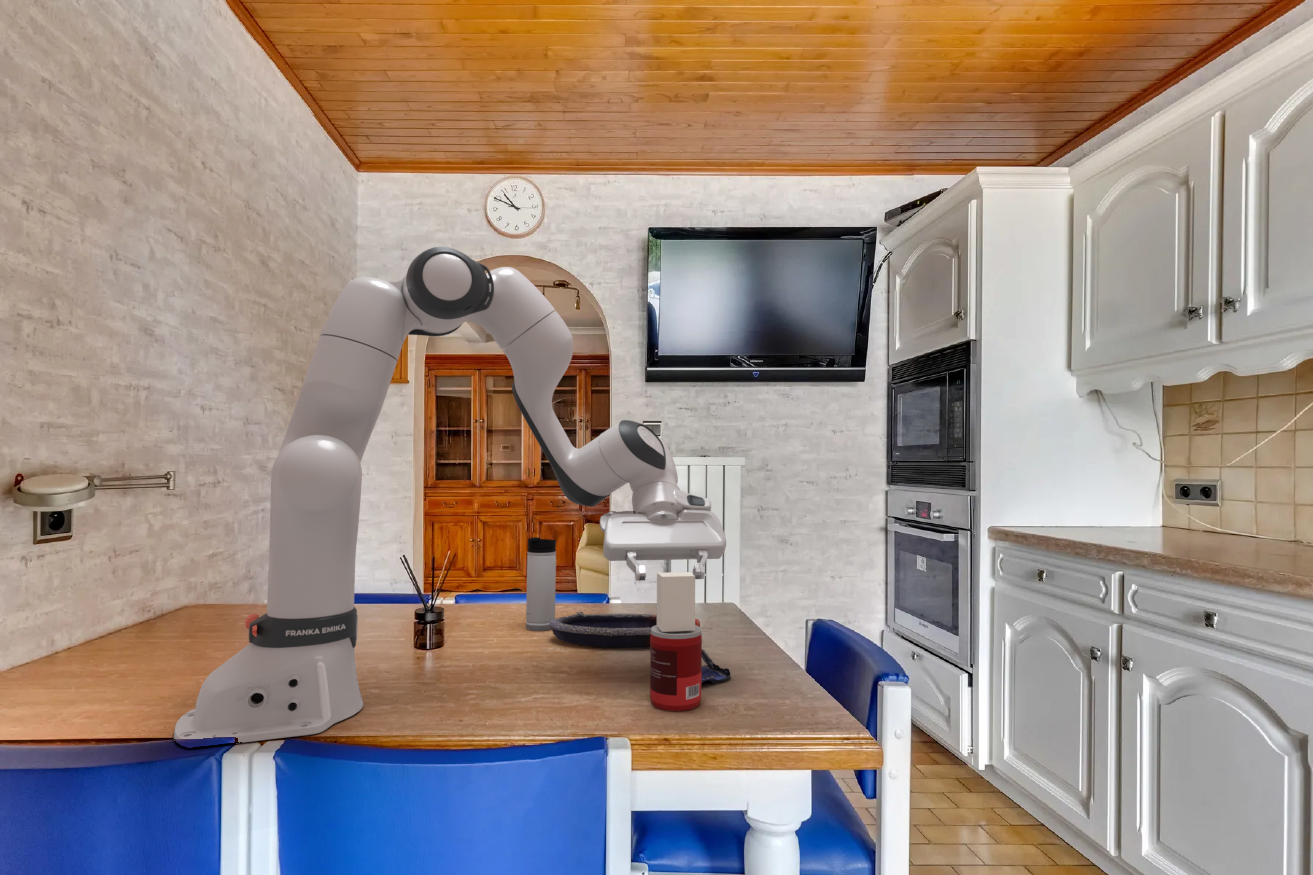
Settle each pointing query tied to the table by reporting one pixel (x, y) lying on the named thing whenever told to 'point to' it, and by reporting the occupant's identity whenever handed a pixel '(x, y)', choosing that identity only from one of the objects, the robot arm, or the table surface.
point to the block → (676, 601)
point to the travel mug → (540, 583)
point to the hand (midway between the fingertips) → (670, 577)
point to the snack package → (713, 671)
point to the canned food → (675, 669)
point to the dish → (606, 629)
